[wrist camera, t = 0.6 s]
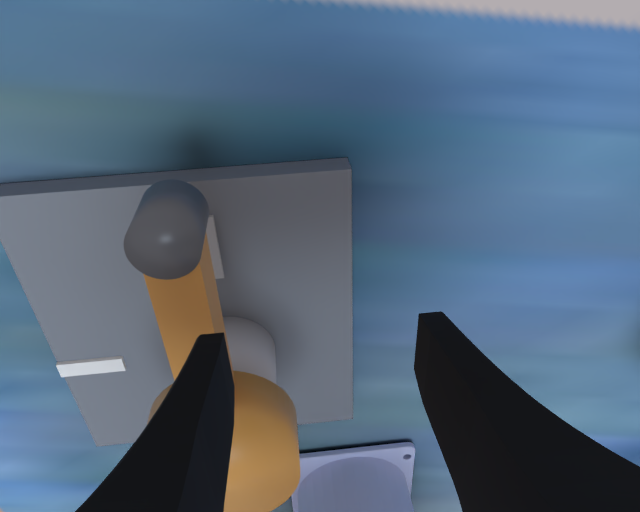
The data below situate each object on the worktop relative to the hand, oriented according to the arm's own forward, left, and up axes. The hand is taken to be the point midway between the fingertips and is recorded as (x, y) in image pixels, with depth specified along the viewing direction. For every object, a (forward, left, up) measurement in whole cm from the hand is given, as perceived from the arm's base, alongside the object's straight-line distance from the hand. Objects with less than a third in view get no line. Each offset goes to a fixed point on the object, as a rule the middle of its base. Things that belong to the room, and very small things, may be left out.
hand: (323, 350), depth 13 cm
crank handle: (-4, +4, -4) cm, 7 cm away
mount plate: (-6, +5, -9) cm, 12 cm away
